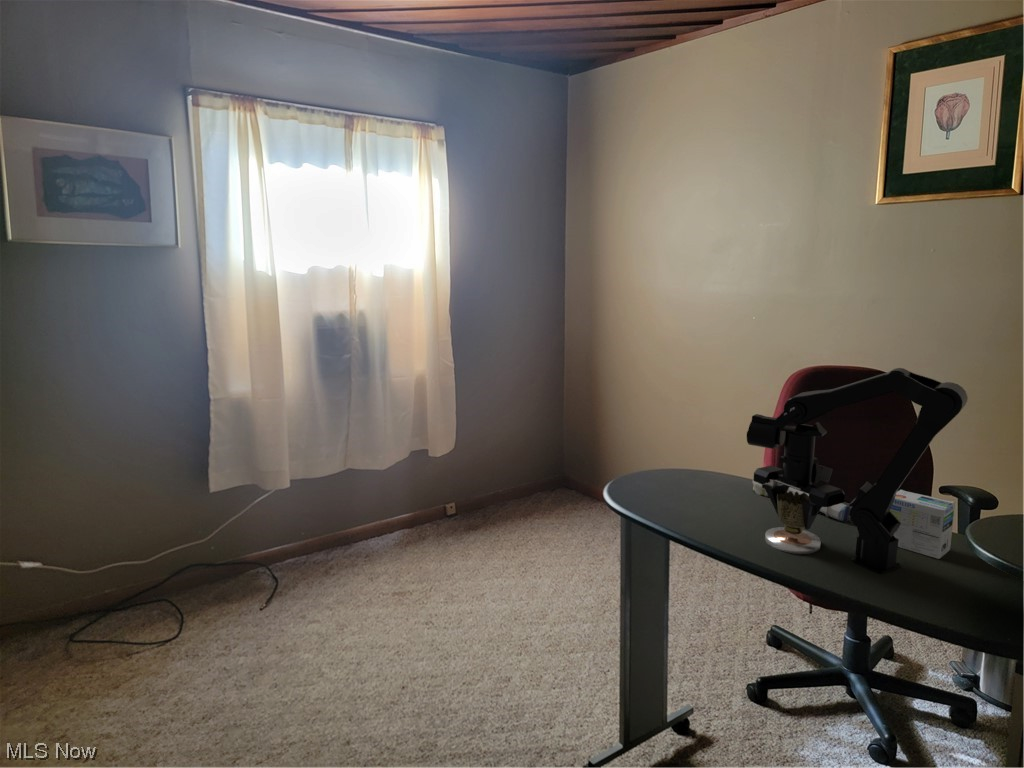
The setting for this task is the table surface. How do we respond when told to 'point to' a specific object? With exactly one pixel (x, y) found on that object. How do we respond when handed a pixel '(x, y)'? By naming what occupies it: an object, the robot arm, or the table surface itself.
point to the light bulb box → (923, 523)
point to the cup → (791, 511)
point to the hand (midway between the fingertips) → (794, 523)
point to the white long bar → (833, 511)
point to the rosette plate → (792, 541)
